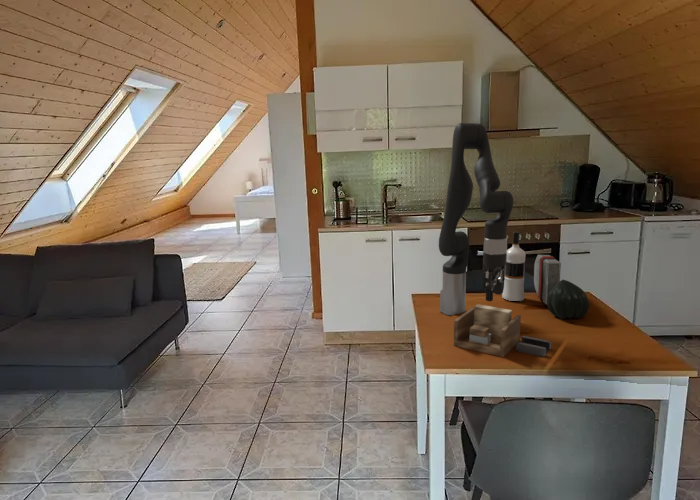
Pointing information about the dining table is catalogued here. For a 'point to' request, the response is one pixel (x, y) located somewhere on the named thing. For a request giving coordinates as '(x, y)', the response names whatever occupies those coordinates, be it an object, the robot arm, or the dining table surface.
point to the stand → (533, 346)
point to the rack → (497, 344)
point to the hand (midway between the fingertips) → (493, 297)
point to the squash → (567, 300)
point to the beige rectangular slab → (492, 318)
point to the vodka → (514, 272)
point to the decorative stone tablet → (546, 275)
